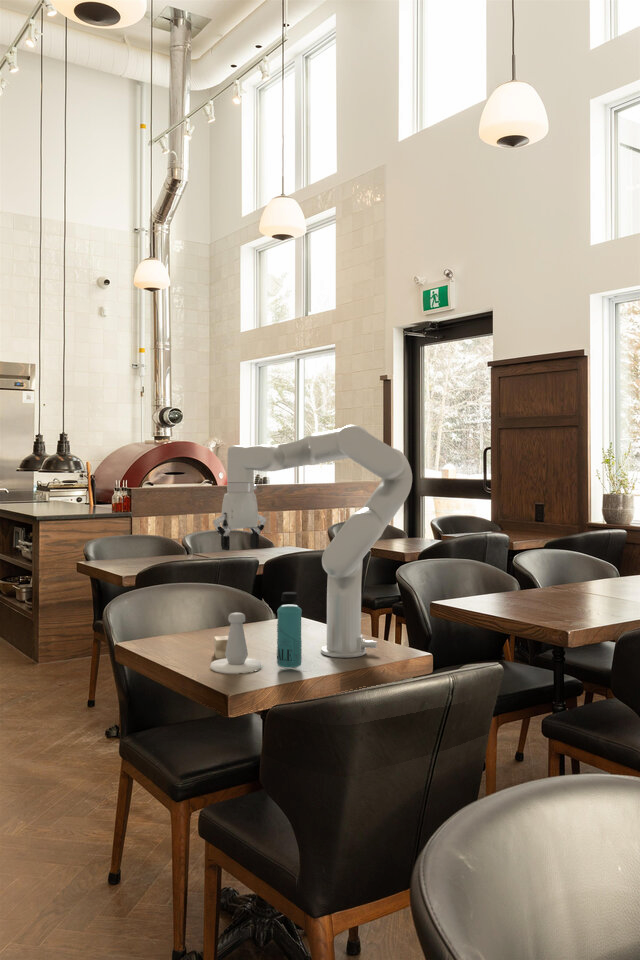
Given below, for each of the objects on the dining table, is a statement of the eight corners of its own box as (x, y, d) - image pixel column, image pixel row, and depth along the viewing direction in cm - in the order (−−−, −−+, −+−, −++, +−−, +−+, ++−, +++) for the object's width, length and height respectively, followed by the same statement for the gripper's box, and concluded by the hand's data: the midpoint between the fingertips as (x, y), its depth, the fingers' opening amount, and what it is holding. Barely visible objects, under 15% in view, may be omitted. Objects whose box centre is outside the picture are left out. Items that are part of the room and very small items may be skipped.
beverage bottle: (301, 667, 209) (302, 590, 209) (302, 673, 203) (302, 594, 202) (276, 667, 209) (277, 590, 209) (276, 673, 202) (276, 594, 202)
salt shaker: (243, 666, 205) (244, 615, 205) (222, 665, 206) (222, 614, 206) (250, 661, 211) (250, 611, 211) (229, 660, 212) (229, 610, 212)
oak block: (232, 653, 224) (232, 635, 224) (234, 657, 219) (234, 639, 219) (214, 654, 223) (214, 636, 223) (216, 658, 218) (216, 640, 218)
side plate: (265, 662, 214) (265, 658, 214) (255, 674, 201) (256, 670, 201) (217, 660, 216) (217, 656, 216) (205, 672, 203) (205, 668, 203)
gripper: (258, 488, 238) (258, 546, 238) (207, 488, 227) (207, 549, 228) (273, 488, 232) (272, 548, 233) (221, 489, 222) (220, 551, 222)
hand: (240, 548), depth 230 cm, fingers open, 9 cm apart
